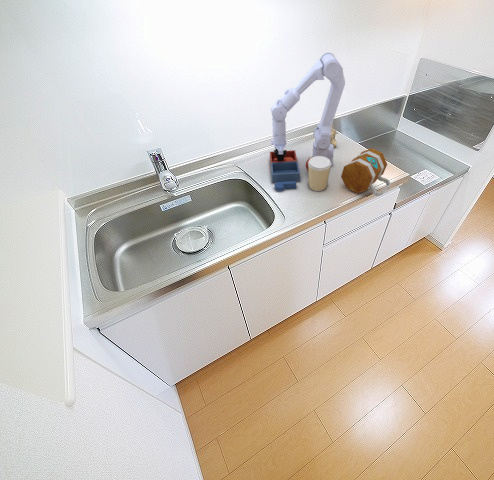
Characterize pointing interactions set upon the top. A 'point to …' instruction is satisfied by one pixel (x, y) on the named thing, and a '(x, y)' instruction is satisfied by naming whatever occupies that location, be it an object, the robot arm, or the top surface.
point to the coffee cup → (318, 172)
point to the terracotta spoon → (285, 159)
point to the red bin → (288, 154)
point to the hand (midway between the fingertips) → (280, 160)
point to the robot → (333, 137)
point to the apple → (307, 164)
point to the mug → (365, 172)
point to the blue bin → (285, 172)
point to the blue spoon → (285, 185)
